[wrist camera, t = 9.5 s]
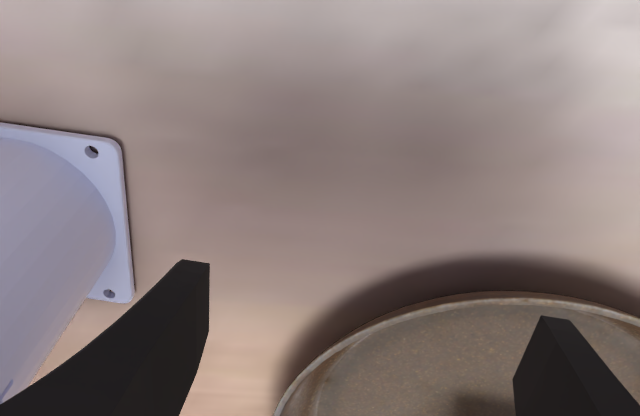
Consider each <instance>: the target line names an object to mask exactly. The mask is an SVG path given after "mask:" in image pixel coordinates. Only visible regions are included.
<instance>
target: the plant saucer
mask: <svg viewBox="0 0 640 416" xmlns="http://www.w3.org/2000/svg"><path fill="white" fill-rule="evenodd" d="M541 315H542V316H549V317H555V318H562V319H568V320H570V321H571V322H572V323H573V324H574V326H575V327H576V328H577V329H578V330H579V332H580V333H581V334H582V335H583V337H584V338H585V339H586V340H587V341H588V343H589V344H590V345H591V346H592V348H593V349H594V350H595V351H596V353H597V354H598V355H599V356H600V358H601V359H602V360H603V361H604V363H605V364H606V365H607V366H608V368H609V369H610V370H611V371H612V372H613V374H614V375H615V376H616V377H617V379H618V380H619V381H620V382H621V383H622V385H623V386H624V387H625V388H626V389H627V391H628V392H629V393H630V394H631V395H632V396H633V398H634V399H635V400H636V401H637V402H638V403H639V405H640V318H639V317H637V316H634V315H631V314H629V313H626V312H623V311H621V310H618V309H615V308H612V307H609V306H606V305H602V304H599V303H595V302H591V301H587V300H583V299H578V298H574V297H568V296H563V295H556V294H548V293H539V292H526V291H484V292H472V293H464V294H456V295H450V296H445V297H440V298H436V299H431V300H427V301H423V302H419V303H416V304H413V305H409V306H406V307H403V308H400V309H397V310H395V311H392V312H390V313H387V314H385V315H382V316H380V317H378V318H376V319H373V320H371V321H370V322H368V323H366V324H364V325H362V326H360V327H359V328H357V329H355V330H353V331H352V332H350V333H349V334H347V335H345V336H344V337H342V338H341V339H340V340H338V341H337V342H335V343H334V344H333V345H331V346H330V347H328V348H327V349H326V350H325V351H324V352H322V353H321V354H320V355H319V356H318V357H317V358H315V359H314V360H313V361H312V362H311V363H310V364H309V365H308V366H307V367H306V368H305V369H304V370H303V371H302V372H301V373H300V374H299V375H298V376H297V378H296V379H295V380H294V381H293V383H292V384H291V385H290V386H289V388H288V389H287V390H286V392H285V393H284V395H283V396H282V398H281V400H280V401H279V403H278V405H277V408H276V410H275V412H274V415H273V416H516V413H515V404H514V392H513V380H512V379H513V377H514V375H515V372H516V370H517V368H518V366H519V363H520V361H521V359H522V357H523V354H524V352H525V350H526V348H527V345H528V343H529V341H530V339H531V336H532V334H533V332H534V330H535V327H536V325H537V323H538V321H539V318H540V316H541Z"/></svg>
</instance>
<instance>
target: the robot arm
mask: <svg viewBox="0 0 640 416" xmlns="http://www.w3.org/2000/svg"><path fill="white" fill-rule="evenodd" d="M89 146H93V147H95V148H96V149H97V150H98V154H97V153H94V152H92V151H91V150H90V147H89ZM209 273H210V264H209V263H202V262H196V261H190V260H183V259H182V260H180V261H179V262H177V263H176V264H175V265H174V266H173V267H172V268H171V269H170V270H169V272H168V273H167V274H166V275H165V276H164V277H163V278H162V279H161V280H160V281H159V282H158V283H157V284H156V285H155V286H154V287H153V288H152V289H150V290H149V291H148V292H147V293H146V294H145V295H144V296H143V297H142V298H141V299H140V300H139V301H138V302H137V303H136V304H135V305H133V306H132V307H131V308H130V309H129V310H128V311H127V312H126V313H125V314H123V315H122V316H121V317H120V318H119V319H118V320H117V321H116V322H115V323H113V324H112V325H111V326H110V327H109V328H107V329H106V330H105V331H104V332H103V333H101V334H100V335H99V336H98V337H96V338H95V339H94V340H93V341H91V342H90V343H89V344H88V345H87V346H85V347H84V348H83V349H82V350H80V351H79V352H78V353H76V354H75V355H74V356H72V357H71V358H70V359H68V360H67V361H66V362H64V363H63V364H61V365H60V366H59V367H57V368H56V369H54V370H53V371H51V372H50V373H49V374H47V375H46V376H44V377H43V378H41V379H40V380H38V381H37V382H35V383H34V384H32V385H30V386H29V384H30V383H31V381H32V379H33V378H34V376H35V375H36V373H37V372H38V370H39V369H40V367H41V366H42V364H43V363H44V361H45V360H46V358H47V357H48V355H49V353H50V352H51V350H52V349H53V347H54V346H55V344H56V343H57V341H58V340H59V338H60V337H61V335H62V334H63V332H64V331H65V329H66V327H67V326H68V324H69V323H70V321H71V320H72V318H73V317H74V315H75V314H76V312H77V311H78V309H79V308H80V306H81V304H82V303H83V301H84V300H85V298H90V299H97V300H103V301H110V302H116V303H128V302H130V301H131V300H132V298H133V296H134V293H135V289H134V279H133V268H132V257H131V246H130V236H129V225H128V214H127V203H126V192H125V182H124V171H123V160H122V151H121V148H120V146H119V145H118V143H117V142H115V141H114V140H113V139H109V138H105V137H98V136H91V135H84V134H77V133H70V132H63V131H57V130H50V129H43V128H36V127H29V126H22V125H15V124H8V123H1V122H0V416H179V414H180V412H181V409H182V407H183V405H184V402H185V400H186V397H187V395H188V393H189V390H190V388H191V385H192V383H193V381H194V378H195V376H196V373H197V370H198V367H199V363H200V360H201V357H202V353H203V350H204V346H205V343H206V339H207V336H208V332H209ZM108 289H109V290H112V291H113V292H111V291H109V290H108ZM512 380H513V392H514V404H515V413H516V416H640V405H639V403H638V402H637V401H636V400H635V399H634V398H633V396H632V395H631V394H630V393H629V392H628V391H627V389H626V388H625V387H624V386H623V385H622V383H621V382H620V381H619V380H618V379H617V377H616V376H615V375H614V374H613V372H612V371H611V370H610V369H609V368H608V366H607V365H606V364H605V363H604V361H603V360H602V359H601V358H600V356H599V355H598V354H597V353H596V351H595V350H594V349H593V348H592V346H591V345H590V344H589V343H588V341H587V340H586V339H585V338H584V337H583V335H582V334H581V333H580V332H579V330H578V329H577V328H576V327H575V326H574V324H573V323H572V322H571V321H570V320H568V319H562V318H555V317H549V316H542V315H541V316H540V318H539V321H538V323H537V325H536V327H535V330H534V332H533V334H532V336H531V339H530V341H529V343H528V345H527V348H526V350H525V352H524V354H523V357H522V359H521V361H520V363H519V366H518V368H517V370H516V372H515V375H514V377H513V379H512ZM28 386H29V387H28Z"/></svg>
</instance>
